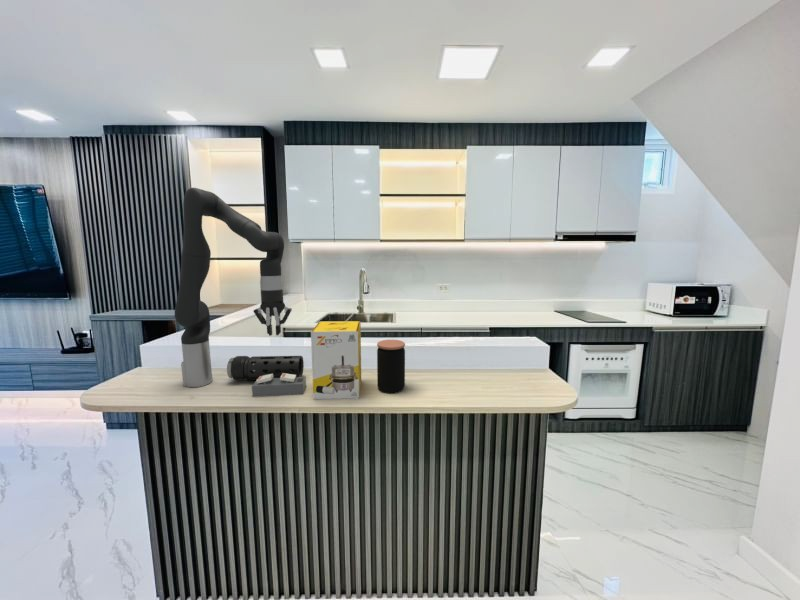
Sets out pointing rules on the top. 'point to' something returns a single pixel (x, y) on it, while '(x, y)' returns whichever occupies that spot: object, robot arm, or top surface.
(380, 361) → the coffee jar
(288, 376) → the rocker
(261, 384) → the switch strip
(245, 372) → the muzzle brake
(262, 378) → the rocker
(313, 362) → the packaging box
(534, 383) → the top surface
